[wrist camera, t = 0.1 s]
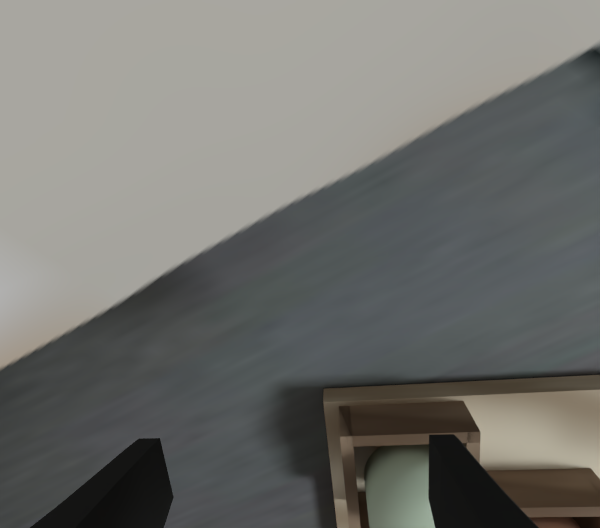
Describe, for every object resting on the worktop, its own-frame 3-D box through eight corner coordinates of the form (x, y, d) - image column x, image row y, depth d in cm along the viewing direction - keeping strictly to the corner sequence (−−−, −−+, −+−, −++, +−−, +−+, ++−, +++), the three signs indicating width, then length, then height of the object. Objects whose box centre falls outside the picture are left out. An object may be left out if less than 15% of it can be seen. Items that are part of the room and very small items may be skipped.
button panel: (685, 594, 22) (746, 668, 19) (346, 590, 25) (348, 656, 21) (739, 367, 18) (830, 413, 15) (323, 388, 20) (322, 432, 17)
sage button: (452, 507, 19) (470, 561, 16) (366, 508, 19) (372, 561, 17) (452, 437, 17) (472, 483, 15) (361, 440, 18) (366, 485, 15)
